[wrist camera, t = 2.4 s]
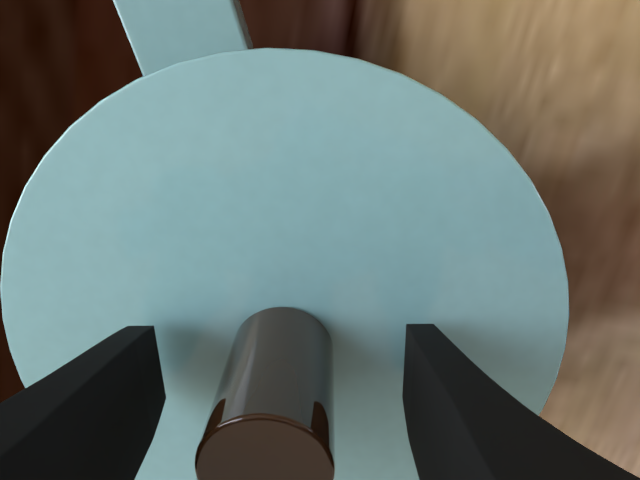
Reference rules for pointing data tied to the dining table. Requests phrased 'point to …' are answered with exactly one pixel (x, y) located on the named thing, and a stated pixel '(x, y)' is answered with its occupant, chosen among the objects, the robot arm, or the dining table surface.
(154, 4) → the pot
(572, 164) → the dining table surface
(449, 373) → the robot arm
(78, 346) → the lid
